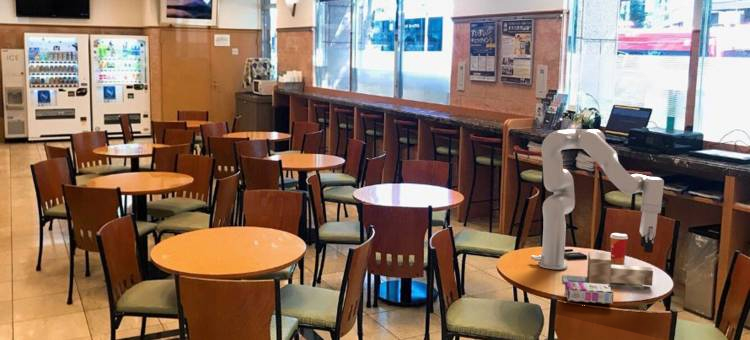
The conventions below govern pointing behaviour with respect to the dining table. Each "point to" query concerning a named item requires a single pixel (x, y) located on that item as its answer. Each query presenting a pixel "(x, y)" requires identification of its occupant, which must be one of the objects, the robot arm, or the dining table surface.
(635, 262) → the dining table surface
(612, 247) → the paper cup
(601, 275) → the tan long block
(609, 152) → the robot arm
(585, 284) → the candy bar box
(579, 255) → the battery charger
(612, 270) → the block
